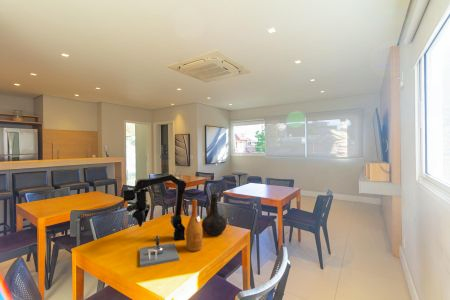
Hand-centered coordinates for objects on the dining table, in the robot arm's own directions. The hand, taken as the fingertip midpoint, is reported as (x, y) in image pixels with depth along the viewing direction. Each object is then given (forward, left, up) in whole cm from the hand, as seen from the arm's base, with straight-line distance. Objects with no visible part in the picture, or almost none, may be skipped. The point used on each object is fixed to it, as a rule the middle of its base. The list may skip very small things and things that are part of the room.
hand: (142, 223), depth 141 cm
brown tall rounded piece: (-30, +16, -14) cm, 36 cm away
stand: (-8, +17, -14) cm, 23 cm away
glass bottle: (-49, -3, -14) cm, 50 cm away
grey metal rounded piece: (-7, +14, -12) cm, 19 cm away
